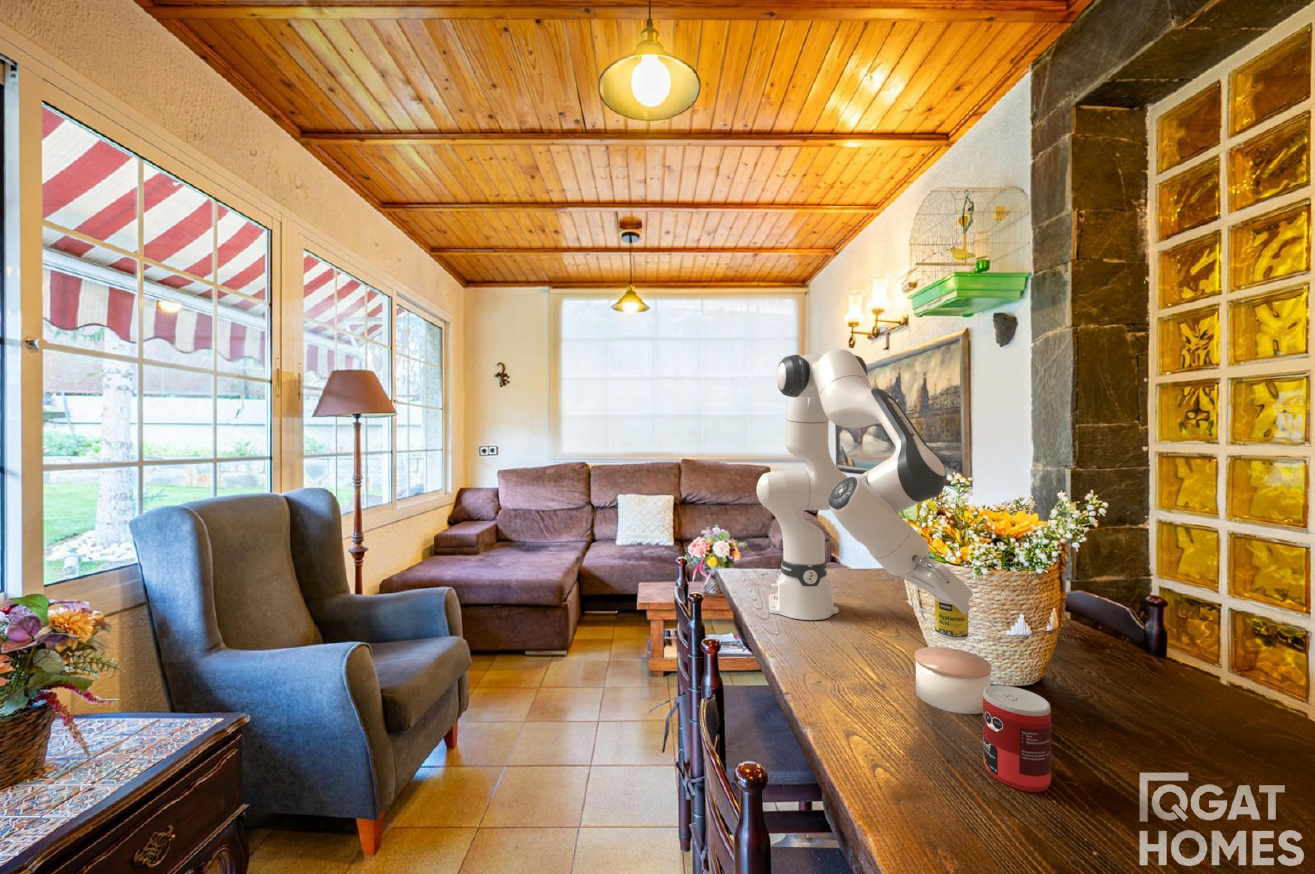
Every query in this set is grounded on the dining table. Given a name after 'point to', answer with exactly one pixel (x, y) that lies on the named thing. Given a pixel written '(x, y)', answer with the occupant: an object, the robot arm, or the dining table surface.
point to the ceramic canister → (952, 679)
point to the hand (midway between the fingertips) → (954, 604)
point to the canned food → (1017, 737)
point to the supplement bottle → (950, 621)
